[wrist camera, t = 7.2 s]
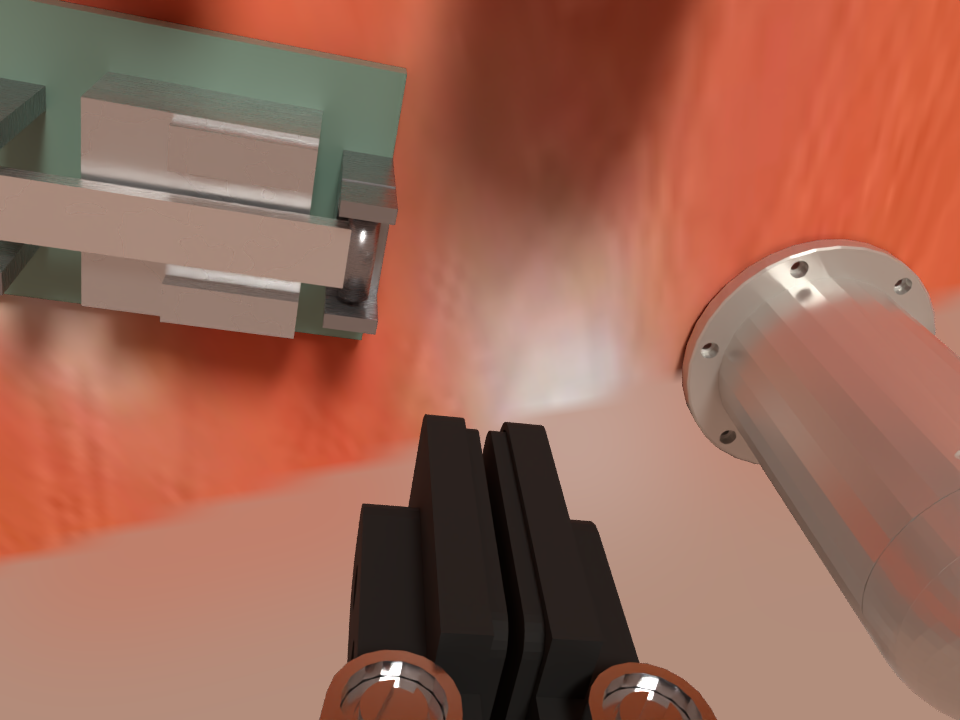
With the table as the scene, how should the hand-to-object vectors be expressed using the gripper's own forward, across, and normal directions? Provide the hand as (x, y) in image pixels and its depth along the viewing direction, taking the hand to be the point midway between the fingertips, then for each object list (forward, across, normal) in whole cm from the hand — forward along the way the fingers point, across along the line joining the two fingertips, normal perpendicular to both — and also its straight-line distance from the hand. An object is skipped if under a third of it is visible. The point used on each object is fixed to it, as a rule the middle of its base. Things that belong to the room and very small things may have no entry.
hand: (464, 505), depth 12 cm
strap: (+22, +8, +5) cm, 24 cm away
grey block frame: (+26, +8, +5) cm, 27 cm away
